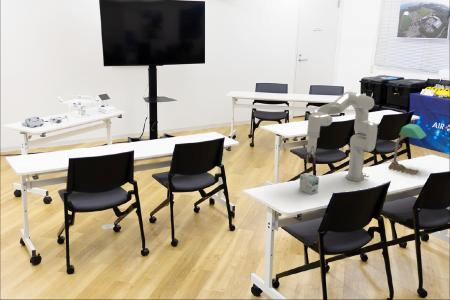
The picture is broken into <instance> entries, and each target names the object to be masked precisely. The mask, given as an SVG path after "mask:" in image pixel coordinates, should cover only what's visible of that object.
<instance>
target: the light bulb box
mask: <svg viewBox="0 0 450 300" xmlns="http://www.w3.org/2000/svg"><path fill="white" fill-rule="evenodd" d="M299 175H300V176H299V186H298V187H299V188H298V189H299V191H301V192H304V193H307V194H310V195H313V194H316V193H318V192H319V181H320V177H319V176H317V175H313V174H311V173H308V172H306V173H302V174H299Z"/></svg>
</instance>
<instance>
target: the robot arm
mask: <svg viewBox="0 0 450 300" xmlns="http://www.w3.org/2000/svg"><path fill="white" fill-rule="evenodd" d="M350 106H352V107H353V109H354V111H355V118H354V125H353V129H354V132H356V133H358V134H353V135H352V136H351V137H350V139H349V145H350V146H349V147H350V152H349V153H350V154H349V163H348V171H347V174H345V179H347V180H350V181H354V182H361V181H363V180H364V179H365V178H370V174H369V173H363V172H364V171H363V169H364V160H365V152H373V151H374V149H375V148H376V143H377V137H378V136H377V135H378V125H377V123H375V122H374V121H370V120H369V114H370V113H369V110H372V109H373V108H374V106H375V100H374V98H373V97H371V96H368V95H365V94H363V93H359V92H353V91H345V92H344V93H342V95H340V96H339V97H338V98H337V99H336V100H334V101H333V102H330V103H325V104H324V105H321V106H319V107H318V108H316V109H315V110H314V111H313V112H312V113H311V114H309V115H308V121H307V129H306V130H307V131H306V136H307V138H308V139H307V144H306V145H307V146H306V151H307V153H308V154H310V156H309V163H308V164H311V163H314V154H316V152H317V151H316V150H317V142H318V138H320V131H321V127H327V126H328V127H329V126H330V125H331V124H332V123H333V117H332V116H331V115H336V114H342V113H343V112H344V111H345V110H346V109H347V108H349V107H350ZM364 151H365V152H364Z"/></svg>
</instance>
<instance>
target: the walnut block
mask: <svg viewBox="0 0 450 300" xmlns="http://www.w3.org/2000/svg"><path fill="white" fill-rule="evenodd" d="M309 156H310V154H309V153H308V152H307V154H306V164H316V153H314V163H309Z"/></svg>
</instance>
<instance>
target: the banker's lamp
mask: <svg viewBox="0 0 450 300" xmlns="http://www.w3.org/2000/svg"><path fill="white" fill-rule="evenodd" d="M398 135H399V136H400V137H399V138H397V140H396V142H395V146H394V147H395V149H394V155H393V160H392V161H391V163H390V164H389V165H388V167H387V168H389V169H388V170H391V169H393V170H392V171H395V170H397V171H396V172H399V171H401V173H404V172H406V173H405V174H408V173H410V174H409V175H413V174H415V175H416V174H418V172H419V169H411V168H407V167H406V166H405V165H404V164H402V163H401V164H400V163H399V162H398V161H397V156H398V149H399V144H400V142H401V141H402V140H403V139H406V138H413V139H417V140H421V139H423V138H425V137H427V134H426V132H425V131H424V130H423V128H421V126H420V125H418V124H415V123H414V124H413V123H408V124H406V125H404V126H402V127H401V129H400V132H399V134H398Z"/></svg>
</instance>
